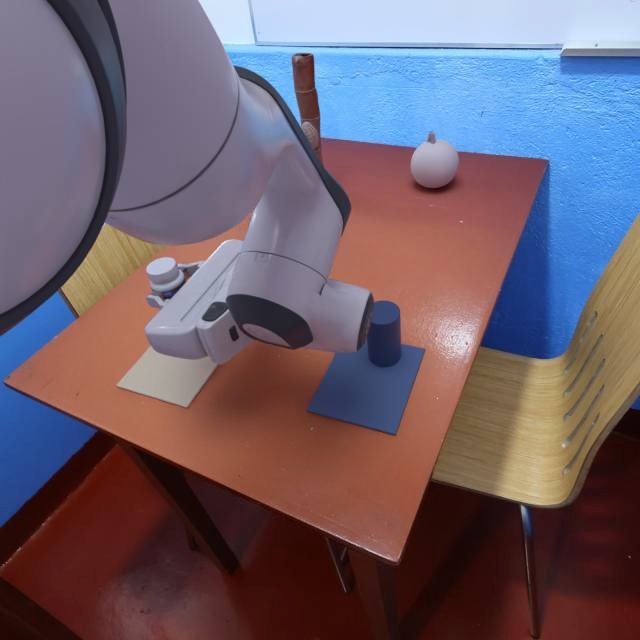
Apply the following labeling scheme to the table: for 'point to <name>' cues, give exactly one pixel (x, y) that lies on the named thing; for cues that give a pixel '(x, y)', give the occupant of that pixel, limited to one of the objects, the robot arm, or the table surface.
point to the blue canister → (384, 334)
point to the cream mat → (168, 377)
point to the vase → (307, 99)
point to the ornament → (434, 162)
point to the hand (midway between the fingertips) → (164, 284)
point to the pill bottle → (165, 276)
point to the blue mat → (367, 389)
